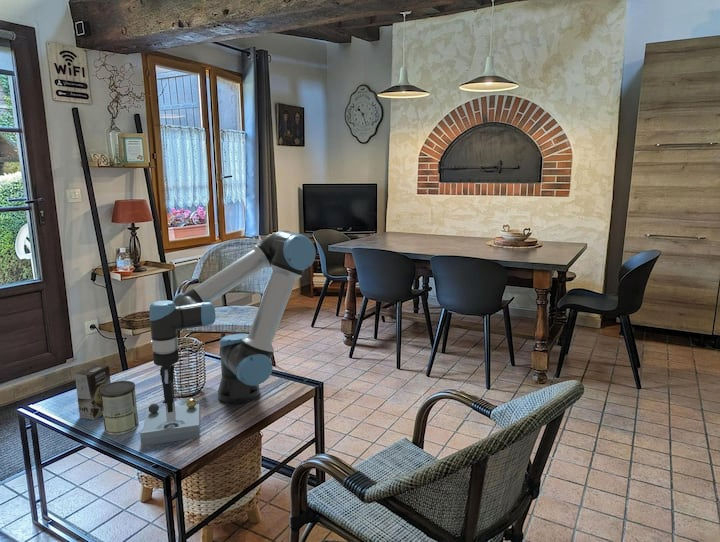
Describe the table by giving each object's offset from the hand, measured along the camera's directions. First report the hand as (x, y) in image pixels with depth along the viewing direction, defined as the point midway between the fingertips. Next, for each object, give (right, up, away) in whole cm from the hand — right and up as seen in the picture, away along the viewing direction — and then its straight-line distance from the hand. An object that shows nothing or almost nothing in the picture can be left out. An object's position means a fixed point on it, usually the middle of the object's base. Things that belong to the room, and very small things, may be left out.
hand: (171, 419), depth 164 cm
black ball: (-8, +2, +7) cm, 11 cm away
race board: (-1, -3, +3) cm, 4 cm away
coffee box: (-30, -2, +12) cm, 33 cm away
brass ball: (+3, +2, +10) cm, 11 cm away
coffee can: (-17, -4, +3) cm, 18 cm away
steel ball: (+1, -3, -2) cm, 4 cm away
